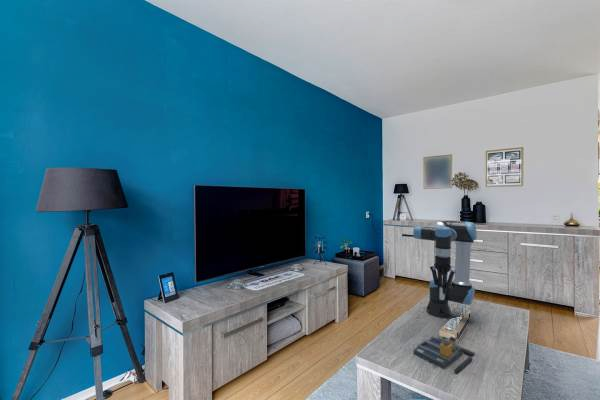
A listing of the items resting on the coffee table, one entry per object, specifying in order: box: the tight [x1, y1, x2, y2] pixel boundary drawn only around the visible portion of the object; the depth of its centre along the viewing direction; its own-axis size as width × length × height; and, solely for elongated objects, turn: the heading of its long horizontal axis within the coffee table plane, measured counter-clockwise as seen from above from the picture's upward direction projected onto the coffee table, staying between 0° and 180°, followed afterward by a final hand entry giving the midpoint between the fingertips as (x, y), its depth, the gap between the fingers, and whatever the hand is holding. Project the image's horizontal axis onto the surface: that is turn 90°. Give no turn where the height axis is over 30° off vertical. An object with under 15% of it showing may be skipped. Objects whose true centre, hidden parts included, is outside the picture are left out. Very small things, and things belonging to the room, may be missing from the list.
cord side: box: [453, 356, 473, 374], centre depth 134 cm, size 17×2×2 cm, turn 127°
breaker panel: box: [413, 336, 463, 370], centre depth 144 cm, size 19×16×9 cm
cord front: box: [437, 337, 475, 358], centre depth 151 cm, size 3×21×2 cm, turn 37°
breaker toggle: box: [440, 342, 452, 358], centre depth 139 cm, size 4×4×7 cm
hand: (442, 299), depth 150 cm, fingers closed
